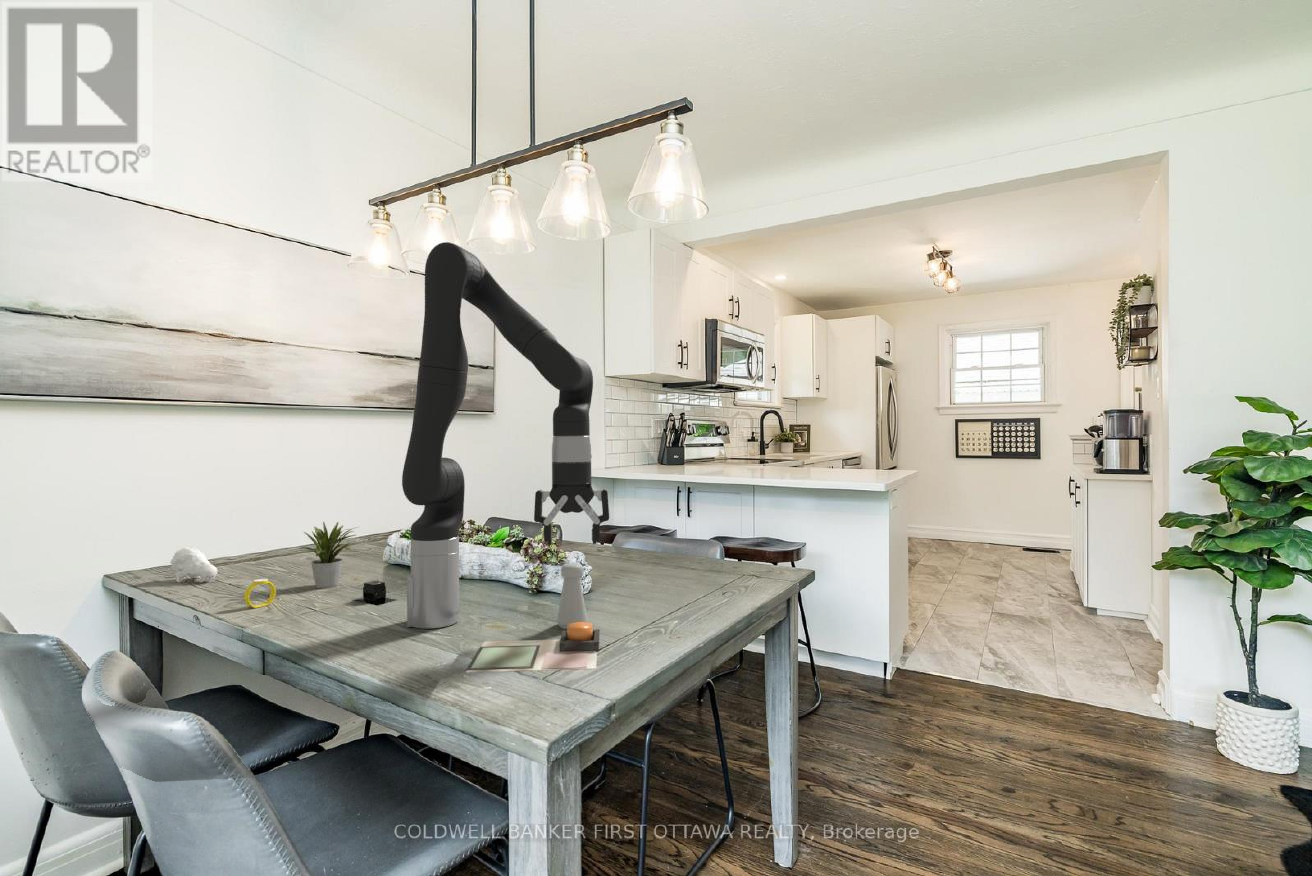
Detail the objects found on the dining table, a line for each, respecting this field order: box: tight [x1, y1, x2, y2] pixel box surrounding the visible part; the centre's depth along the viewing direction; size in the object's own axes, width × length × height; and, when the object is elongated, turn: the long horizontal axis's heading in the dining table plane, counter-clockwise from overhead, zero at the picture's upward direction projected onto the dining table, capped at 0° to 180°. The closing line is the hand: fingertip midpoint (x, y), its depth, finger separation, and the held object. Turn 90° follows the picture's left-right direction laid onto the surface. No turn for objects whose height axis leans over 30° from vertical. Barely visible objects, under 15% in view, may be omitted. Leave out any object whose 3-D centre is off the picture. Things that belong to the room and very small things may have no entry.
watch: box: [243, 578, 277, 609], centre depth 133 cm, size 6×3×6 cm, turn 153°
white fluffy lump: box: [170, 546, 218, 584], centre depth 156 cm, size 6×8×12 cm
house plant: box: [298, 521, 359, 589], centre depth 150 cm, size 14×14×16 cm
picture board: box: [465, 629, 600, 674], centre depth 100 cm, size 22×16×3 cm
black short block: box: [351, 580, 398, 606], centre depth 138 cm, size 12×7×5 cm, turn 62°
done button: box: [566, 621, 594, 641], centre depth 105 cm, size 4×4×2 cm
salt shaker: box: [556, 562, 588, 630], centre depth 116 cm, size 6×6×13 cm
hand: (572, 543), depth 115 cm, fingers open, 8 cm apart
